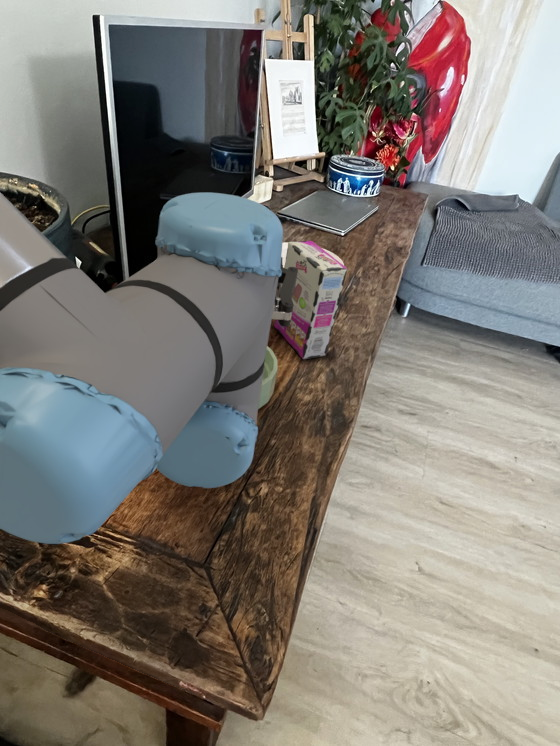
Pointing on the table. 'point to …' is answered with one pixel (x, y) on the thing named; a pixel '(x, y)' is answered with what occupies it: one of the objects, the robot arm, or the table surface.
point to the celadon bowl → (268, 377)
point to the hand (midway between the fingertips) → (238, 245)
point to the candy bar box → (312, 298)
